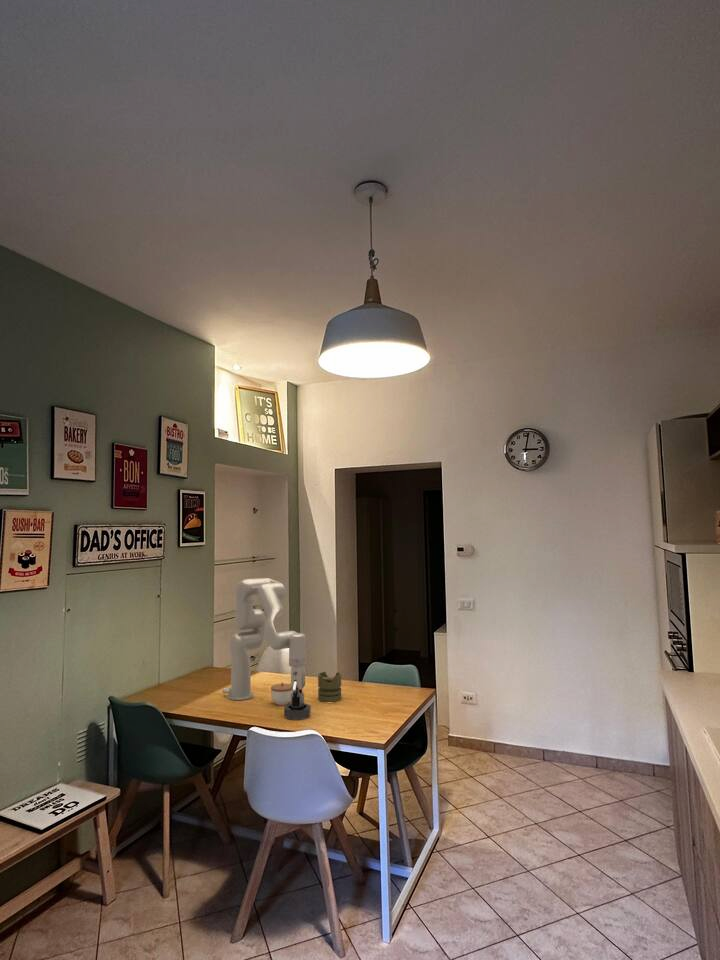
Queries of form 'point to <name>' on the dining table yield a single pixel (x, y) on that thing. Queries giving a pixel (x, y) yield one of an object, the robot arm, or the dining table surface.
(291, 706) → the cap
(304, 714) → the dark grey round ring
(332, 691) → the olive green vest
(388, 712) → the dining table surface
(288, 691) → the lidded jar
